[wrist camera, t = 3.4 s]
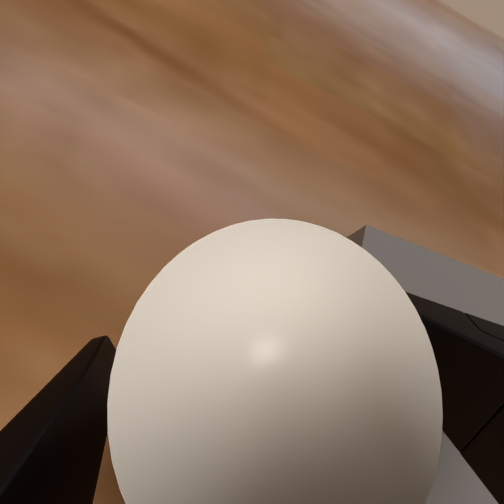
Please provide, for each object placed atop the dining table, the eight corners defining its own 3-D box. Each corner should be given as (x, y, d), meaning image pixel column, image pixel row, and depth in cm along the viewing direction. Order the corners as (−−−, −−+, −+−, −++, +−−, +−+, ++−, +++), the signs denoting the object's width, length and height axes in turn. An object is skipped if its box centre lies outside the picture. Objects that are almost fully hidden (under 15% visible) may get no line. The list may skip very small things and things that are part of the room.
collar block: (508, 523, 14) (583, 576, 11) (294, 446, 13) (315, 480, 10) (502, 302, 18) (554, 299, 15) (342, 240, 18) (366, 225, 15)
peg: (285, 347, 15) (503, 432, 4) (217, 392, 14) (213, 757, 2) (249, 281, 16) (328, 180, 4) (182, 317, 15) (54, 303, 3)
